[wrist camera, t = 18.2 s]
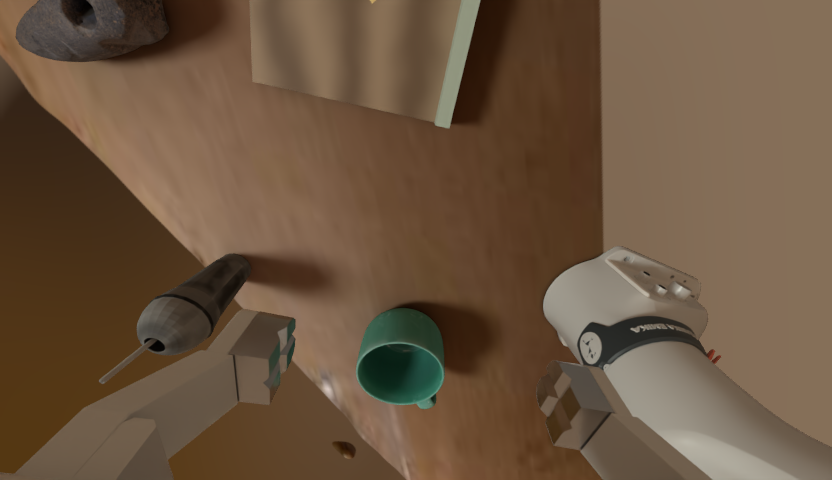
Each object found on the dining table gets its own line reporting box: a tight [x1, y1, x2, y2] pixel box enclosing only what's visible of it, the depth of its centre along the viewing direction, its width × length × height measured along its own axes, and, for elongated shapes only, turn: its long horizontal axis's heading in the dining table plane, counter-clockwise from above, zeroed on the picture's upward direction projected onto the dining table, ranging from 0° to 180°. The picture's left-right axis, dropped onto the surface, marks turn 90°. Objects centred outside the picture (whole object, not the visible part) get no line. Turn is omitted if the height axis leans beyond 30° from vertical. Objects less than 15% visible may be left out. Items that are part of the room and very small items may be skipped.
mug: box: [356, 308, 445, 409], centre depth 47 cm, size 17×13×10 cm
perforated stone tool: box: [16, 0, 169, 62], centre depth 29 cm, size 15×5×7 cm, turn 104°
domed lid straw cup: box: [99, 254, 251, 383], centre depth 36 cm, size 7×7×20 cm
